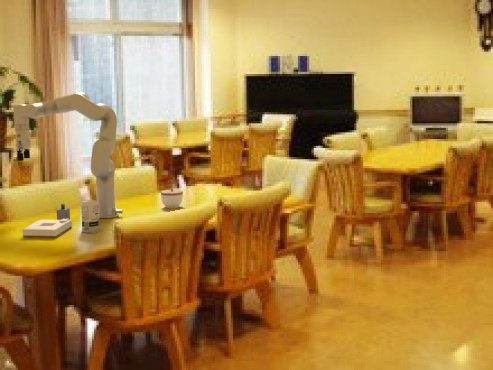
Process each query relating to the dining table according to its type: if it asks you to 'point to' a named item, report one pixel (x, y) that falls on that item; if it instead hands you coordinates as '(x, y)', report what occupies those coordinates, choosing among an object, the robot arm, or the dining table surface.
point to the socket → (47, 228)
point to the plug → (63, 213)
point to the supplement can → (90, 216)
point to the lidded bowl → (172, 198)
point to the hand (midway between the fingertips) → (23, 159)
